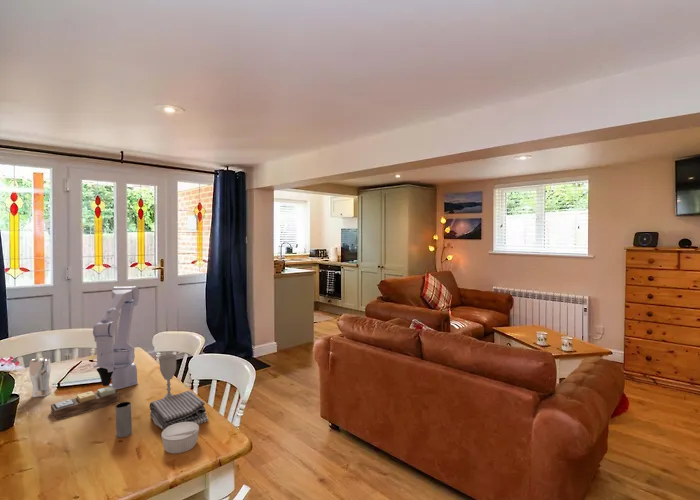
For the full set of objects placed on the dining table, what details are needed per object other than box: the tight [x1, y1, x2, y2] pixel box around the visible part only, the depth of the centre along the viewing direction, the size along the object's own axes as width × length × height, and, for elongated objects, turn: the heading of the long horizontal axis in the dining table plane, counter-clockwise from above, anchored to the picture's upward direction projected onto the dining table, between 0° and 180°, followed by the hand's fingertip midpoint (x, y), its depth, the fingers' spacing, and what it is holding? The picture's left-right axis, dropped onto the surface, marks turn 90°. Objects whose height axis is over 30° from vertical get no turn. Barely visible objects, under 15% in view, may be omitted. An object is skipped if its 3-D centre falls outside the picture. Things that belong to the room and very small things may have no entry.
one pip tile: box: [96, 385, 115, 397], centre depth 157 cm, size 5×5×2 cm
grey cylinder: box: [114, 401, 133, 439], centre depth 131 cm, size 4×4×10 cm
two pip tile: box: [76, 390, 95, 403], centre depth 152 cm, size 5×5×2 cm
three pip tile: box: [54, 398, 74, 409], centre depth 147 cm, size 5×5×2 cm
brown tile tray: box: [50, 390, 120, 421], centre depth 152 cm, size 21×11×3 cm, turn 137°
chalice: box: [157, 353, 178, 398], centre depth 156 cm, size 7×7×18 cm
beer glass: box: [28, 356, 52, 399], centre depth 162 cm, size 7×7×15 cm
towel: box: [149, 390, 209, 430], centre depth 141 cm, size 15×18×8 cm
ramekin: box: [161, 422, 200, 455], centre depth 124 cm, size 11×11×5 cm
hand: (106, 385), depth 157 cm, fingers closed
